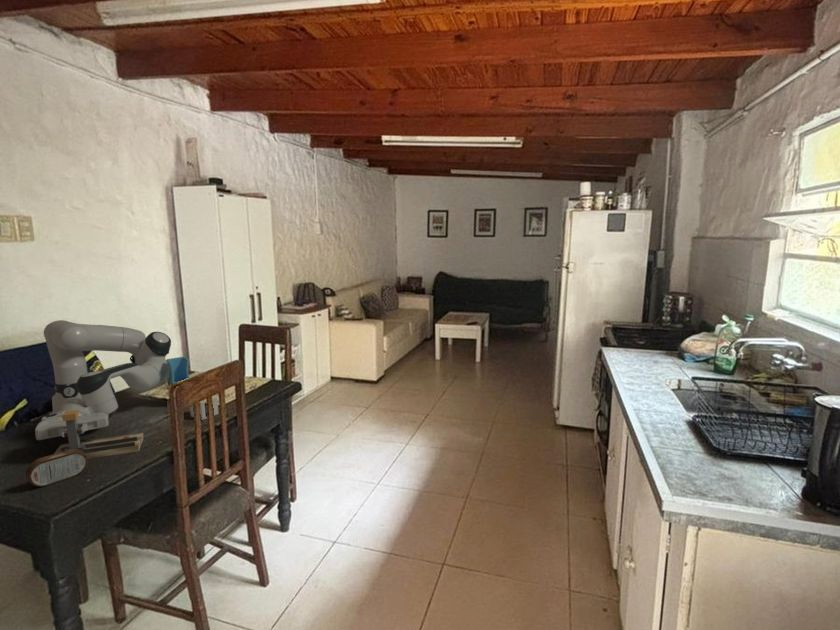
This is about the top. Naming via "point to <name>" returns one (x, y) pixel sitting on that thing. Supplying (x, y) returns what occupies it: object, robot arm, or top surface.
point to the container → (203, 408)
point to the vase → (177, 369)
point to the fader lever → (73, 430)
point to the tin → (56, 467)
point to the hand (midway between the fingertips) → (73, 433)
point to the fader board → (109, 445)
